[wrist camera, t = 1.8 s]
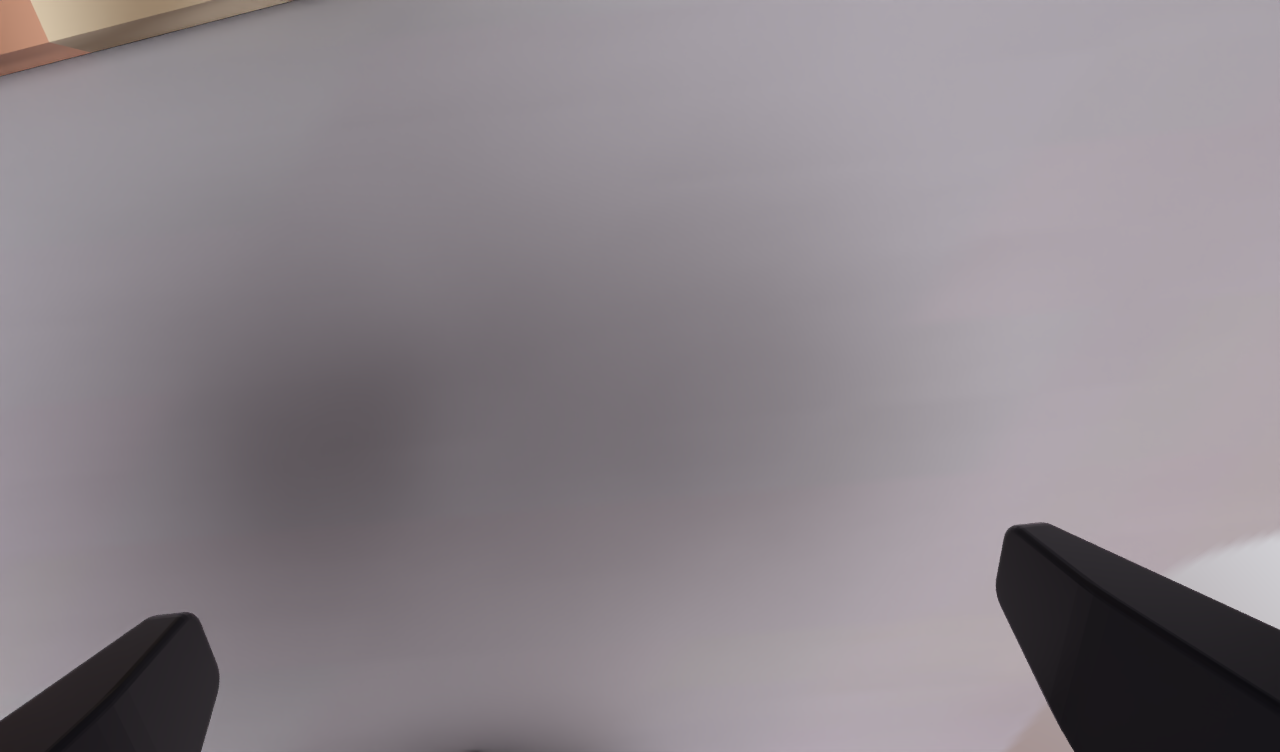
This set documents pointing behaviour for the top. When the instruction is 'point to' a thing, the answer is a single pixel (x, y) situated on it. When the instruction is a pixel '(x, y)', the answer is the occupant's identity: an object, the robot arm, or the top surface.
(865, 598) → the top surface
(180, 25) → the socket rail
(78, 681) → the robot arm
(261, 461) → the top surface
